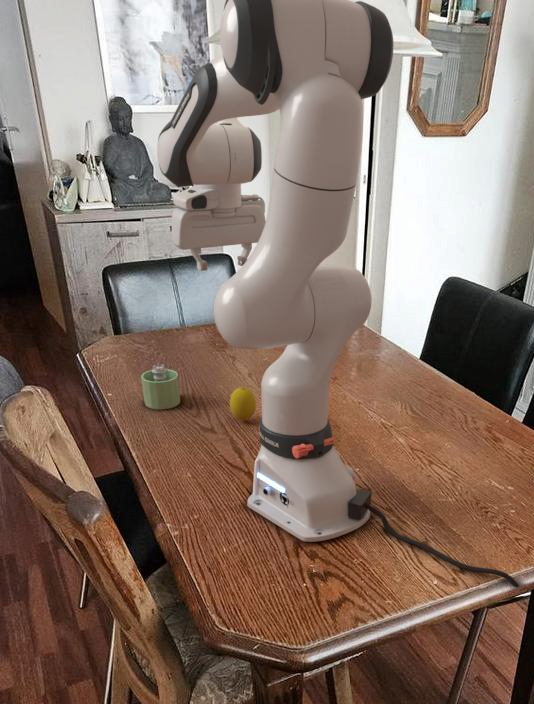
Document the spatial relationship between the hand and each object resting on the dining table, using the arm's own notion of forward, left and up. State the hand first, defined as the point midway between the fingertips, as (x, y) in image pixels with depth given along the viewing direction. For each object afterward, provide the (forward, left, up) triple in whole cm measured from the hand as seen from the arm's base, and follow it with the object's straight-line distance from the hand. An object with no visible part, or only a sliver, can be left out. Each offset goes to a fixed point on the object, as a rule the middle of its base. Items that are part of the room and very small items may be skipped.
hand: (222, 267), depth 133 cm
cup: (+4, +15, -29) cm, 33 cm away
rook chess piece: (+4, +15, -29) cm, 33 cm away
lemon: (-14, +4, -29) cm, 33 cm away
